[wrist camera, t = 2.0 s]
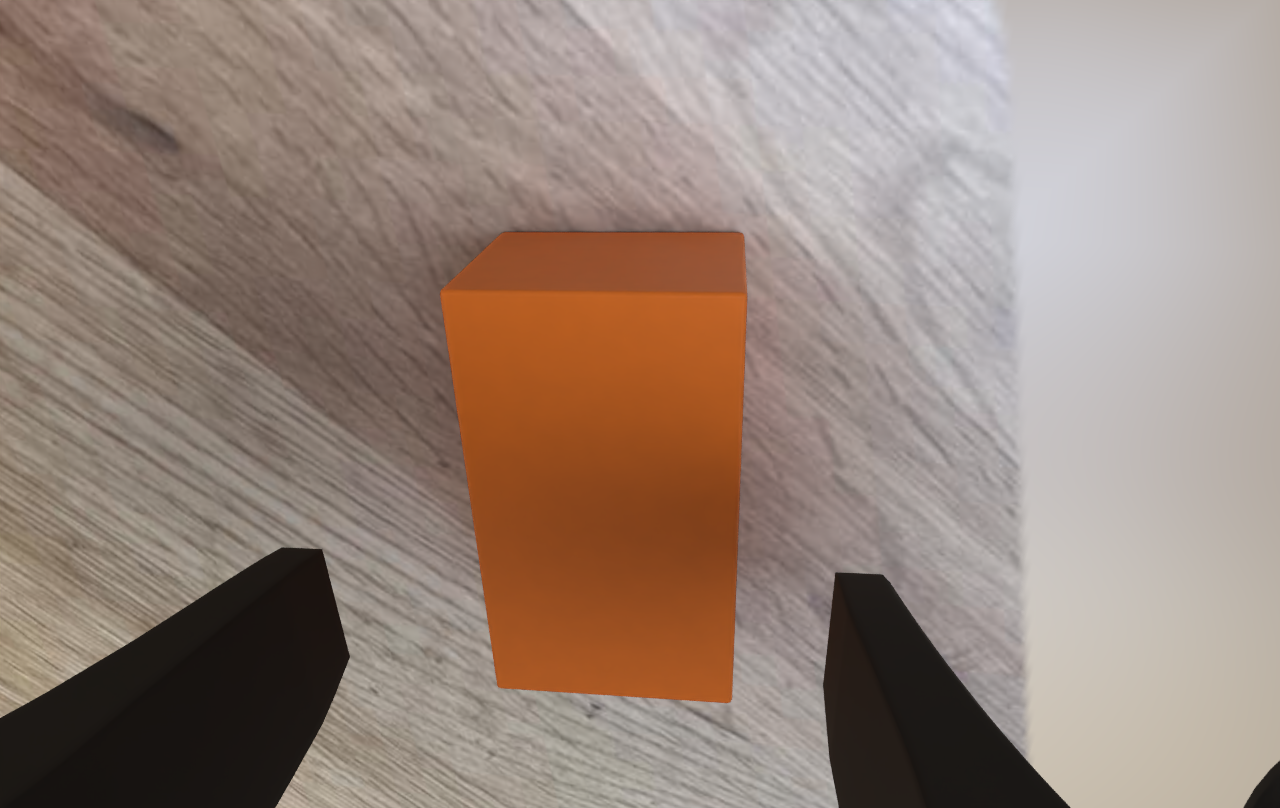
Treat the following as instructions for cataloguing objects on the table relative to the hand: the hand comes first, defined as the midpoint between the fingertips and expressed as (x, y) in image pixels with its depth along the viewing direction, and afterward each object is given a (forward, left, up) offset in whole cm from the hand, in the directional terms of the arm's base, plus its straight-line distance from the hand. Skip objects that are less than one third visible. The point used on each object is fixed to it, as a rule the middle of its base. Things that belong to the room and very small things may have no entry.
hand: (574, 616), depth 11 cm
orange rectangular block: (0, 0, -6) cm, 6 cm away
